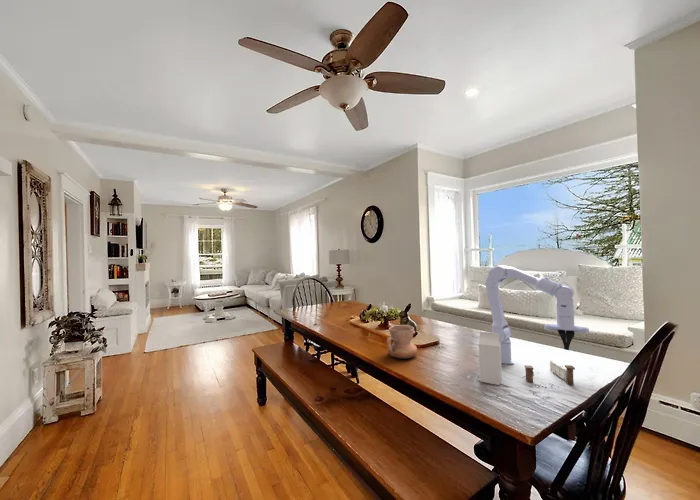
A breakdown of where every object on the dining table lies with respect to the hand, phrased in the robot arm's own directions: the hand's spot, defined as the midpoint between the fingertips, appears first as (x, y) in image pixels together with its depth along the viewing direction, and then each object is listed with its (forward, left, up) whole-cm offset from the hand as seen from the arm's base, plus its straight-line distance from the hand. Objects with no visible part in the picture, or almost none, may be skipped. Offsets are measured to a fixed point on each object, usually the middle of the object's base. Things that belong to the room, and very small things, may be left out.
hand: (566, 349), depth 122 cm
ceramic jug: (-68, +10, -11) cm, 69 cm away
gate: (-4, -3, -10) cm, 11 cm away
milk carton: (-31, -11, -11) cm, 34 cm away
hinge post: (-3, -9, -10) cm, 14 cm away
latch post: (-16, -9, -10) cm, 21 cm away
